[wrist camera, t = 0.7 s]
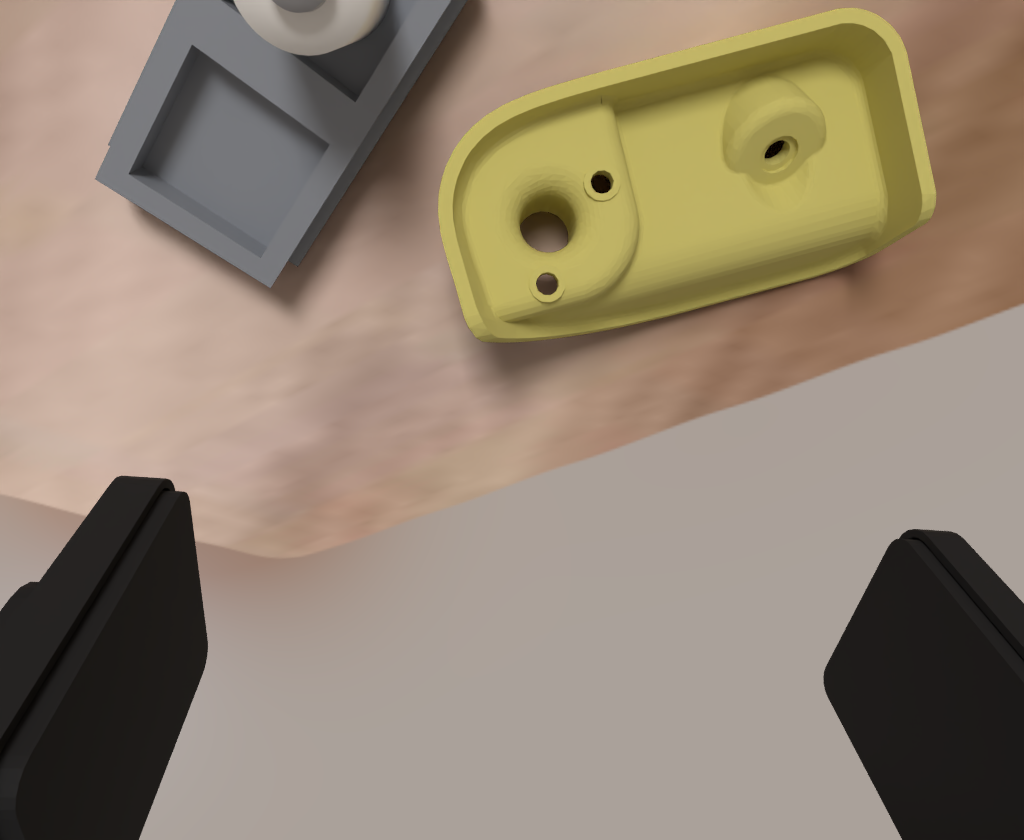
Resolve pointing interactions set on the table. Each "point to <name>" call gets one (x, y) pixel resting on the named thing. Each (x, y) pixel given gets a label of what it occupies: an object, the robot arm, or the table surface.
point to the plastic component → (689, 179)
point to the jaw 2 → (312, 22)
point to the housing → (261, 127)
